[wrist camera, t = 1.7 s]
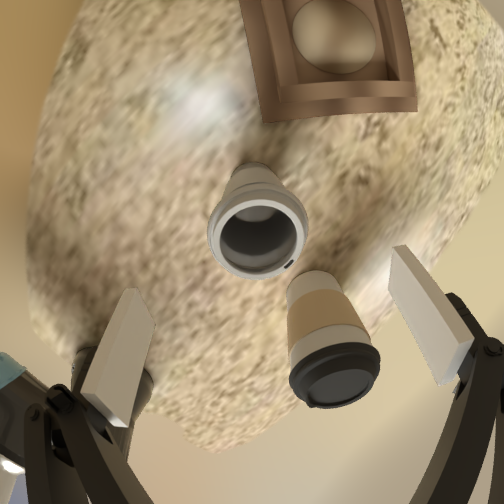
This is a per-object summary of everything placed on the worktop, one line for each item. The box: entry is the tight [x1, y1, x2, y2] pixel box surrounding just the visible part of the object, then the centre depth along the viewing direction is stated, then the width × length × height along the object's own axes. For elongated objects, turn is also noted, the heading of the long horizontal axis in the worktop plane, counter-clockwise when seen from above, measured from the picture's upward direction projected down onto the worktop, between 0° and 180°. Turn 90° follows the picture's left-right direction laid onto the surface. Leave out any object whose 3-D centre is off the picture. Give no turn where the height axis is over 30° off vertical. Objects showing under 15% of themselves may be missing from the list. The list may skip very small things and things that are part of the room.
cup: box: [207, 162, 308, 280], centre depth 24 cm, size 7×7×12 cm
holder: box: [239, 0, 418, 123], centre depth 20 cm, size 16×16×4 cm
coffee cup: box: [286, 270, 380, 409], centre depth 30 cm, size 9×9×15 cm
